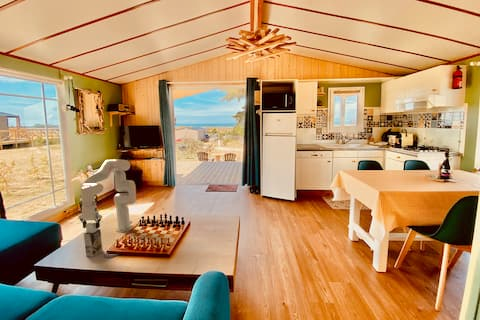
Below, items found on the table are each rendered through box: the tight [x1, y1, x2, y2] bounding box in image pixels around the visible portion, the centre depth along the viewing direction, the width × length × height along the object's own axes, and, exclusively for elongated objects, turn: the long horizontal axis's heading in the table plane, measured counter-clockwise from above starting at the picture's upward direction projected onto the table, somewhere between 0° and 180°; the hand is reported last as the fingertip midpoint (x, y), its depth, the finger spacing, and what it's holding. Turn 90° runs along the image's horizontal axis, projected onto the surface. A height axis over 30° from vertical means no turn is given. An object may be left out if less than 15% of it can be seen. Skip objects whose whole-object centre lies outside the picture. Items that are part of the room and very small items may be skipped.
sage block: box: [85, 221, 99, 233], centre depth 190 cm, size 5×5×6 cm
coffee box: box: [83, 228, 103, 257], centre depth 191 cm, size 9×6×16 cm
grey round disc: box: [103, 252, 119, 259], centre depth 189 cm, size 9×9×1 cm
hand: (91, 227), depth 190 cm, fingers open, 9 cm apart
